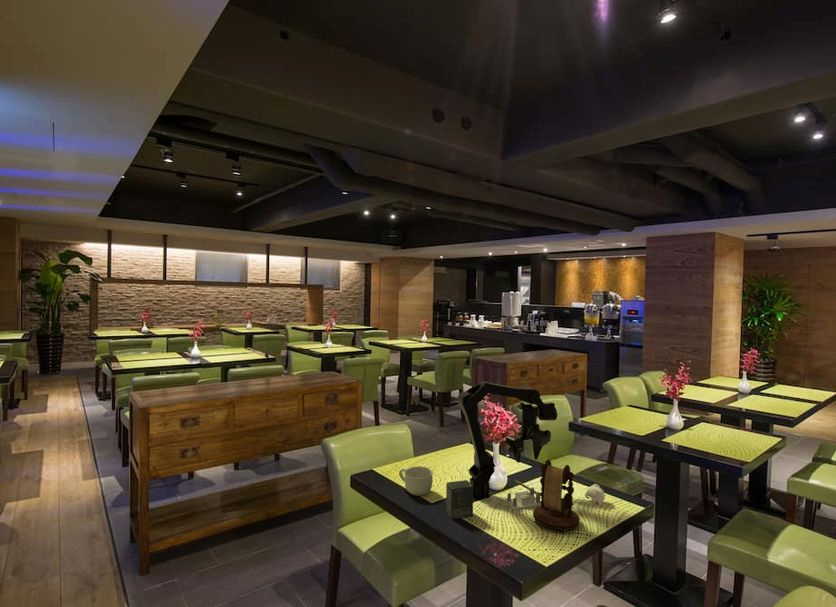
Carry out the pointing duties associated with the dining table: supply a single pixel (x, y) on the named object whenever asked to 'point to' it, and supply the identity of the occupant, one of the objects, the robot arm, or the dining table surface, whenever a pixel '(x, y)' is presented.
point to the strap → (525, 486)
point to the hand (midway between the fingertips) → (527, 460)
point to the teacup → (417, 480)
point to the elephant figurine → (595, 494)
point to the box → (459, 499)
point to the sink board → (524, 500)
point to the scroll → (556, 499)
